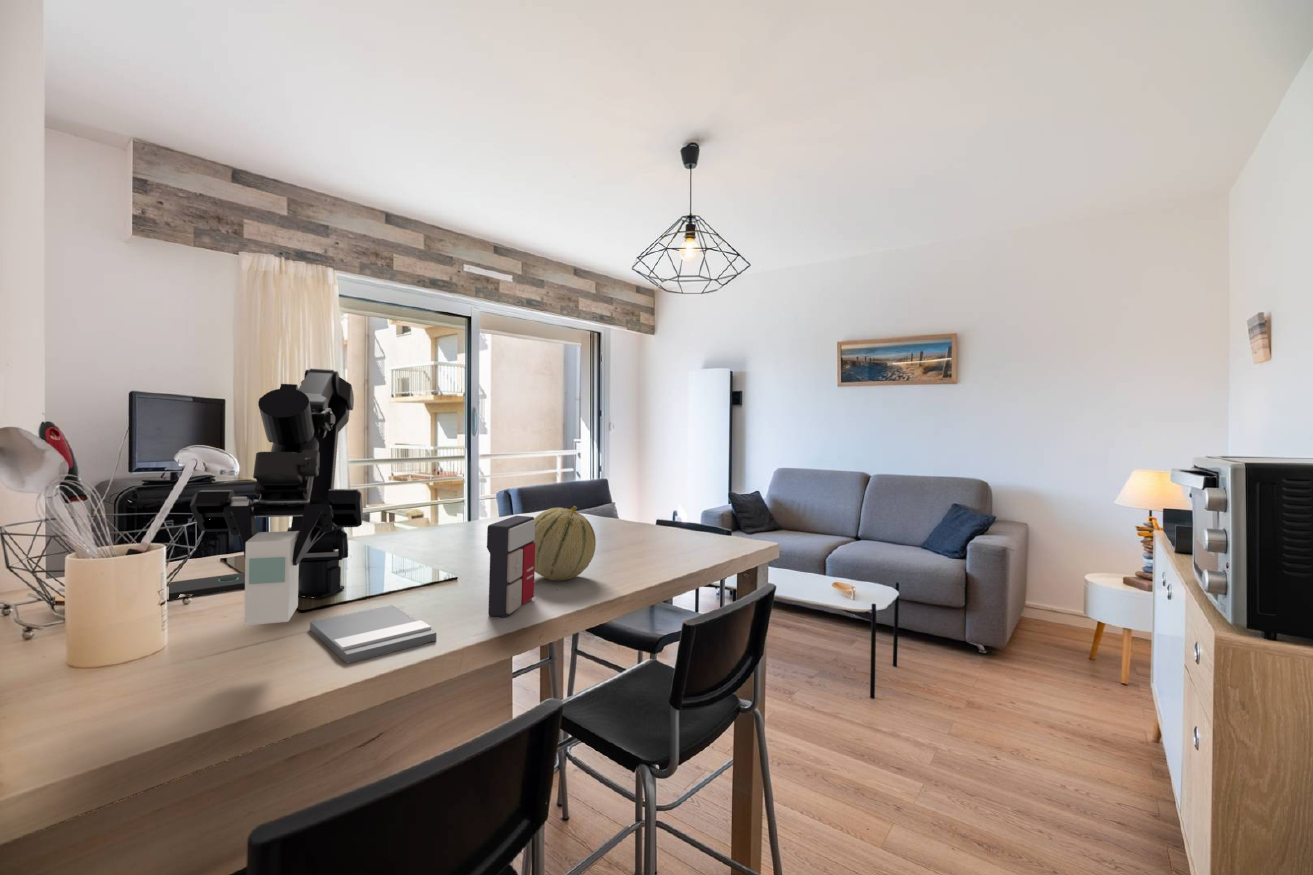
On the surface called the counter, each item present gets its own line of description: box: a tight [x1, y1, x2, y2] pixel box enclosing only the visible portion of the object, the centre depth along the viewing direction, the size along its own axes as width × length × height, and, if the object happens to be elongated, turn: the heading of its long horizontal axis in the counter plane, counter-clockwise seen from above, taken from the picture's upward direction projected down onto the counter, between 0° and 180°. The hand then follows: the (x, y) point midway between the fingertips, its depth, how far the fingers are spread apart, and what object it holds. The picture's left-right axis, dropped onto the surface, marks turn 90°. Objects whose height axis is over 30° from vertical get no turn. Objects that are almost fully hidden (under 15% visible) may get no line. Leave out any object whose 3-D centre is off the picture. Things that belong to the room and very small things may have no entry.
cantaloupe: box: [534, 505, 596, 581], centre depth 118 cm, size 15×15×15 cm
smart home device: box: [168, 572, 245, 601], centre depth 106 cm, size 8×2×20 cm
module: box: [243, 531, 299, 626], centre depth 72 cm, size 6×4×10 cm
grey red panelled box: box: [486, 515, 536, 618], centre depth 100 cm, size 11×4×15 cm, turn 168°
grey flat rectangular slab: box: [309, 604, 437, 664], centre depth 85 cm, size 12×16×2 cm
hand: (271, 565), depth 72 cm, fingers closed on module, 4 cm apart
